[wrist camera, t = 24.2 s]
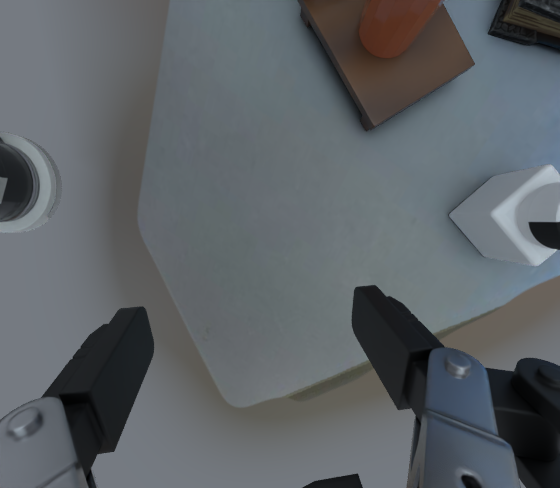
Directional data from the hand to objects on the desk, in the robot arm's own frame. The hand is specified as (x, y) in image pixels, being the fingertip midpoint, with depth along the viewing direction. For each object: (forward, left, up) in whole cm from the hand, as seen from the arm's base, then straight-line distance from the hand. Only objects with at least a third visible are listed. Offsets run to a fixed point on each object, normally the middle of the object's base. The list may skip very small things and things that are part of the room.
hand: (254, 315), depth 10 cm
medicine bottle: (+10, +24, -23) cm, 35 cm away
